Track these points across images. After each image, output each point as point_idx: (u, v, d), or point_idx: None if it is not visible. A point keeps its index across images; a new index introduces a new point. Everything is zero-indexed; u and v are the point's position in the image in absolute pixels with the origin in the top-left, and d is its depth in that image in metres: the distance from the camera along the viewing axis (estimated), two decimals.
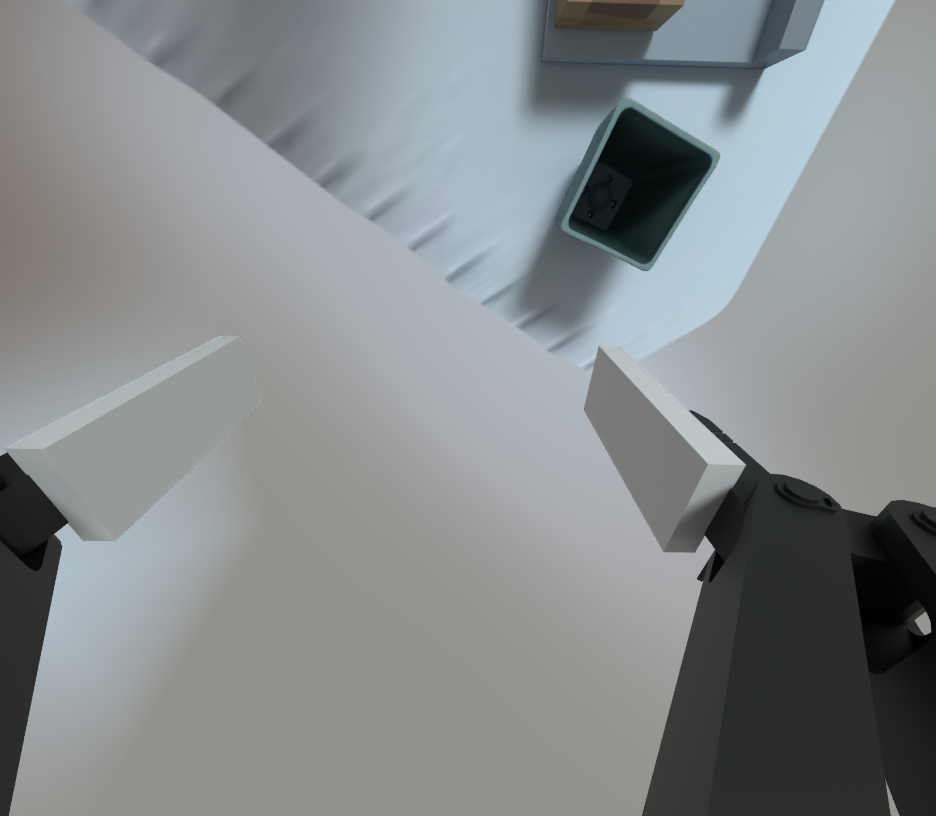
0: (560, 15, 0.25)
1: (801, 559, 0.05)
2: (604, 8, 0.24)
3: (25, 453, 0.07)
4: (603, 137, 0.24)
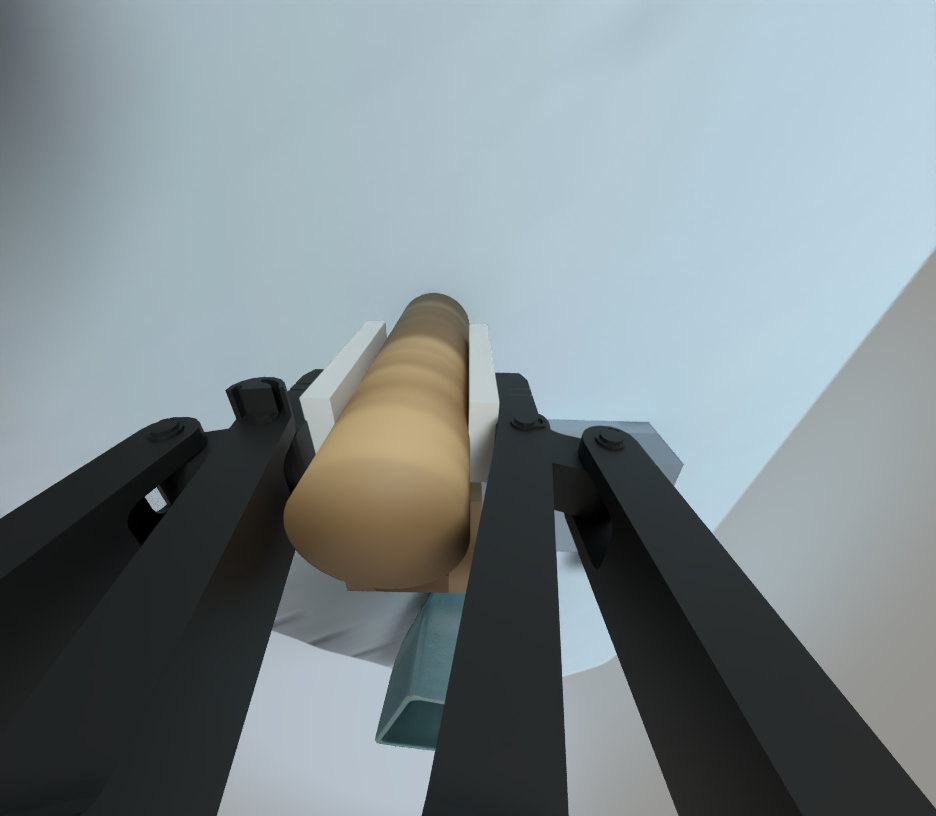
0: None
1: (522, 469, 0.07)
2: None
3: (313, 402, 0.08)
4: (398, 709, 0.22)
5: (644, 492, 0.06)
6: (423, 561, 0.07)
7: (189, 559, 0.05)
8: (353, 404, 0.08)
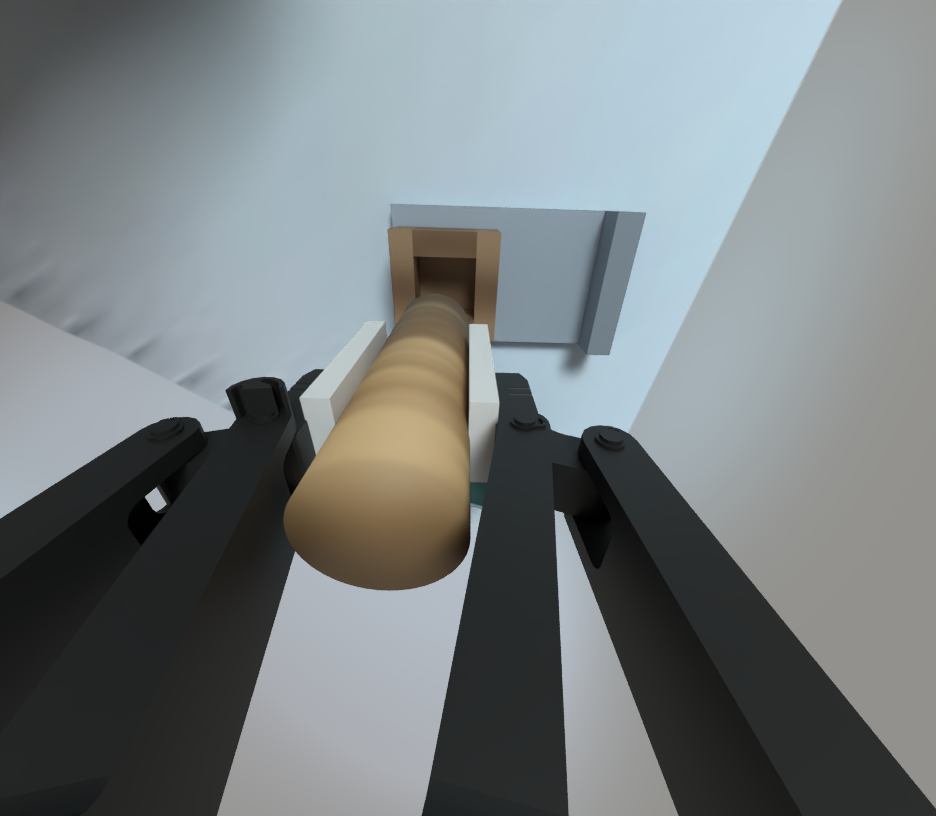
0: None
1: (522, 469, 0.07)
2: None
3: (313, 402, 0.08)
4: None
5: (644, 492, 0.06)
6: (423, 563, 0.07)
7: (189, 560, 0.05)
8: (353, 405, 0.08)
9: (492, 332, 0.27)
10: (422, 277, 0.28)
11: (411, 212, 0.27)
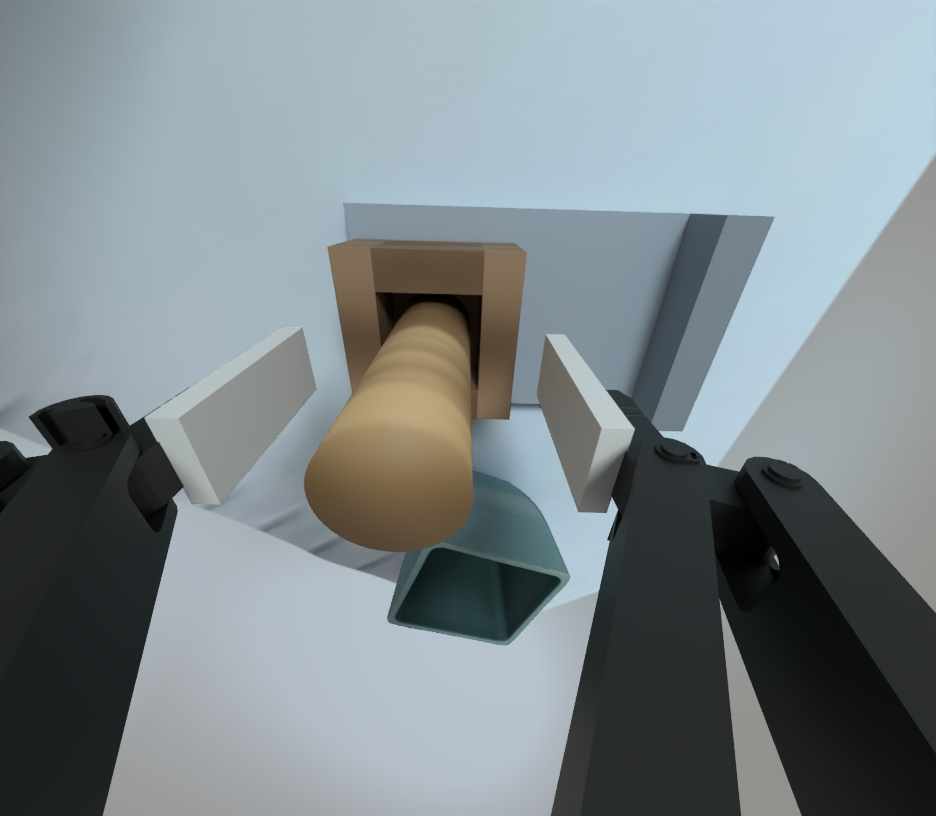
0: None
1: (673, 507, 0.06)
2: None
3: (161, 422, 0.08)
4: (415, 565, 0.19)
5: (831, 542, 0.05)
6: (430, 523, 0.08)
7: (6, 599, 0.04)
8: (364, 383, 0.09)
9: (507, 406, 0.17)
10: (397, 317, 0.18)
11: (377, 216, 0.17)
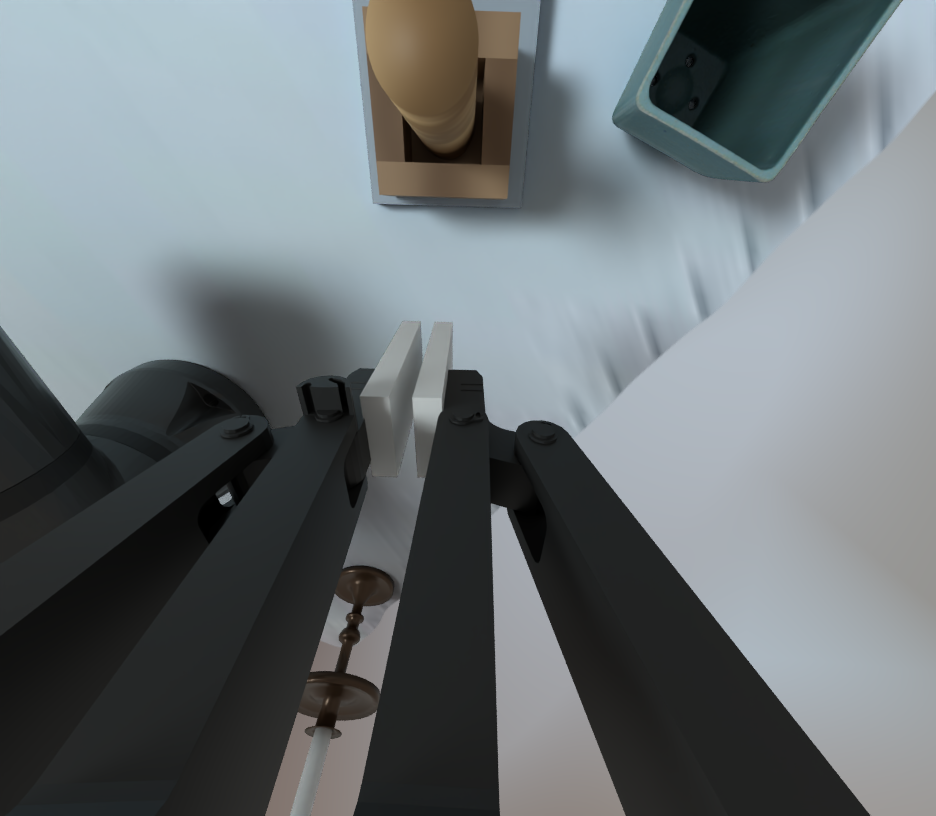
0: None
1: (460, 463, 0.07)
2: None
3: (372, 400, 0.09)
4: (673, 127, 0.17)
5: (574, 484, 0.06)
6: (446, 3, 0.10)
7: (257, 557, 0.05)
8: None
9: (505, 16, 0.17)
10: None
11: (377, 177, 0.24)
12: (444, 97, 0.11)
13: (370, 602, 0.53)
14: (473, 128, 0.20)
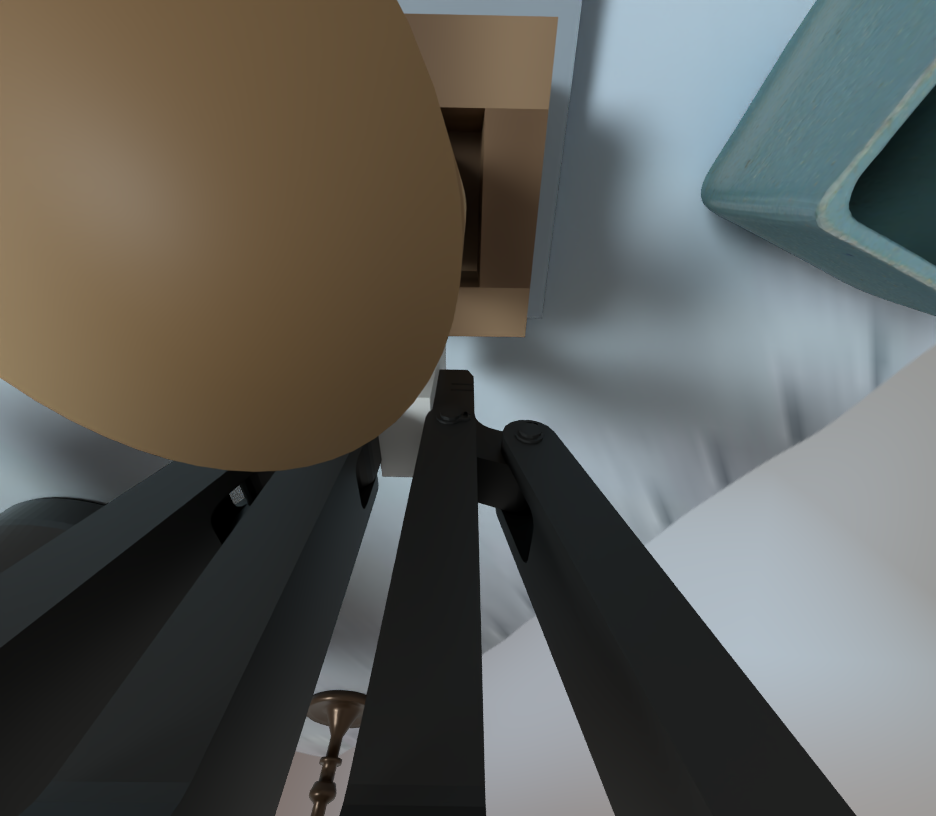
0: None
1: (447, 463, 0.07)
2: None
3: None
4: (885, 260, 0.08)
5: (560, 483, 0.06)
6: (240, 35, 0.02)
7: (270, 557, 0.05)
8: None
9: (525, 25, 0.08)
10: None
11: None
12: (322, 426, 0.03)
13: (352, 724, 0.44)
14: None
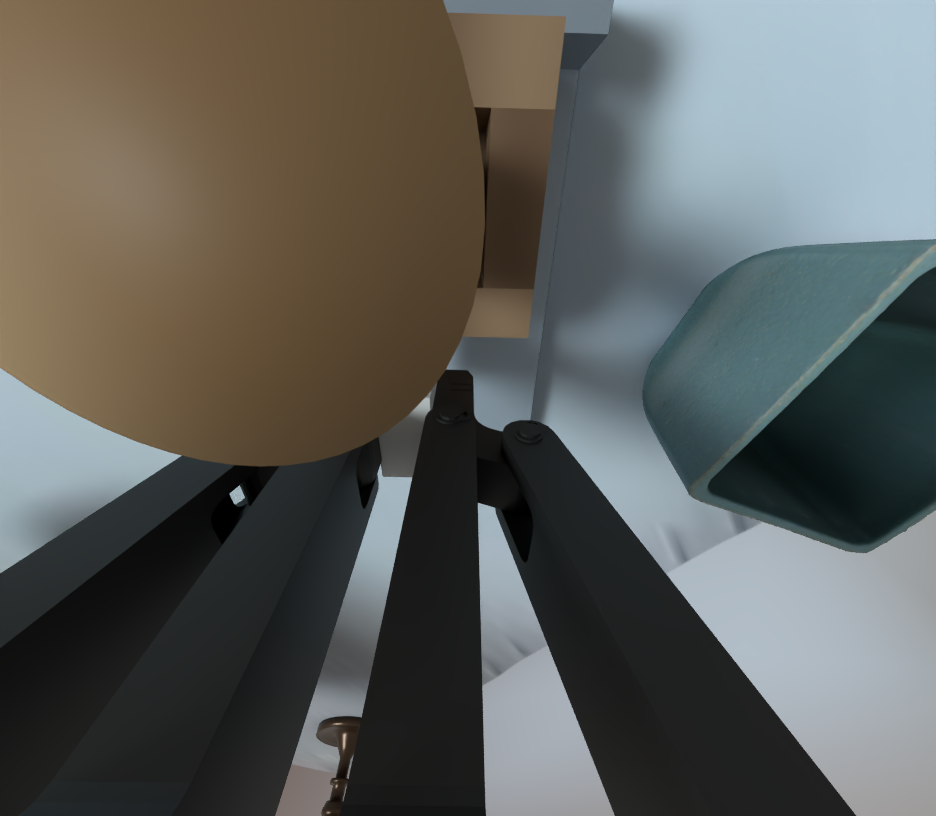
0: None
1: (447, 463, 0.07)
2: None
3: None
4: (738, 512, 0.12)
5: (559, 483, 0.06)
6: None
7: (270, 557, 0.05)
8: None
9: (533, 24, 0.08)
10: None
11: None
12: (332, 419, 0.03)
13: None
14: None
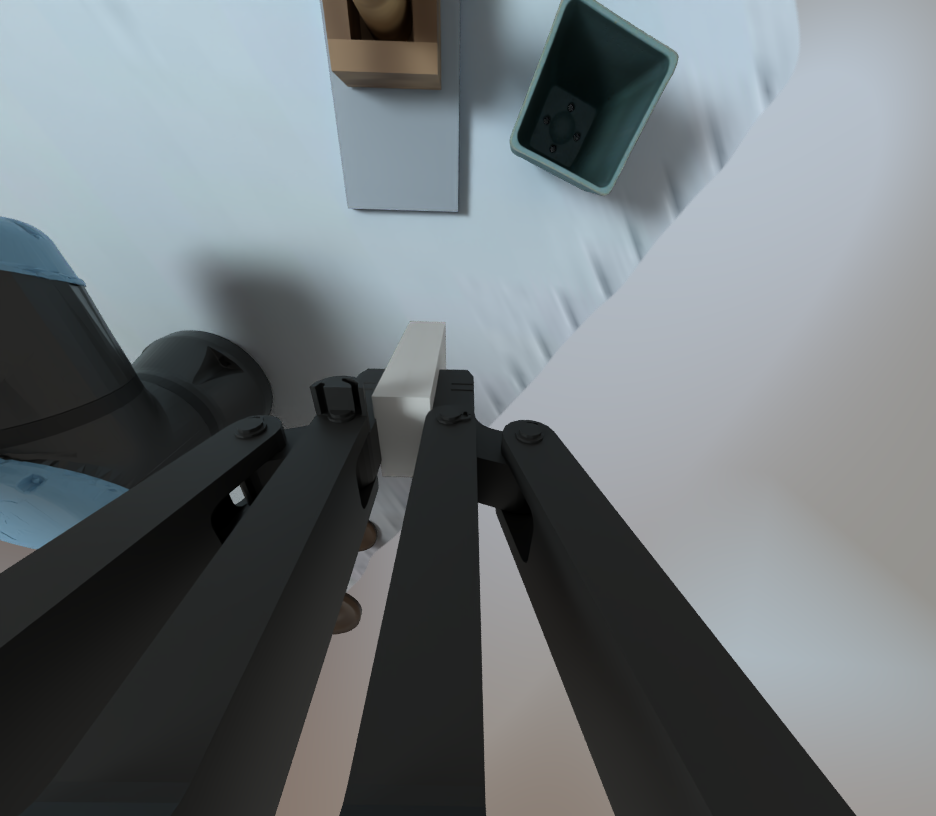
0: (439, 82, 0.27)
1: (447, 463, 0.07)
2: (437, 25, 0.25)
3: (384, 400, 0.09)
4: (537, 160, 0.26)
5: (559, 483, 0.06)
6: None
7: (270, 557, 0.05)
8: None
9: None
10: None
11: (350, 189, 0.33)
12: None
13: None
14: (407, 11, 0.25)
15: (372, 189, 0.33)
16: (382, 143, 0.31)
